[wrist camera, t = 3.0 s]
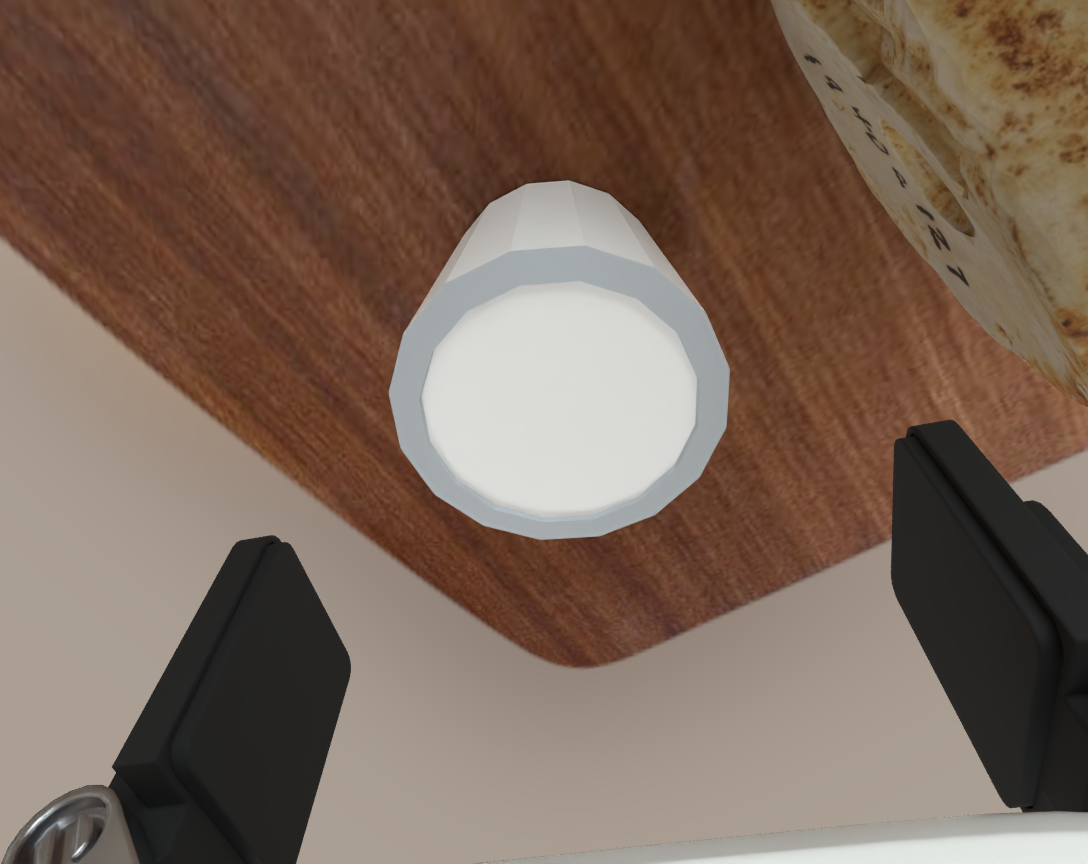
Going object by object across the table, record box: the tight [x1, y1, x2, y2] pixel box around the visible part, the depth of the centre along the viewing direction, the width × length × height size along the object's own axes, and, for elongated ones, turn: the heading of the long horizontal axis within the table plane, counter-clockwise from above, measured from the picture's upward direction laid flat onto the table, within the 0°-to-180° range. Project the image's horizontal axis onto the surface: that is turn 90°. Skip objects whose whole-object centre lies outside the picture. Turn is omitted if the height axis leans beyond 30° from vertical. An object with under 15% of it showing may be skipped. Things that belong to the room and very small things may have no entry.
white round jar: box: [389, 180, 730, 540], centre depth 18 cm, size 7×7×7 cm
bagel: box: [771, 0, 1088, 406], centre depth 14 cm, size 10×4×10 cm, turn 39°
